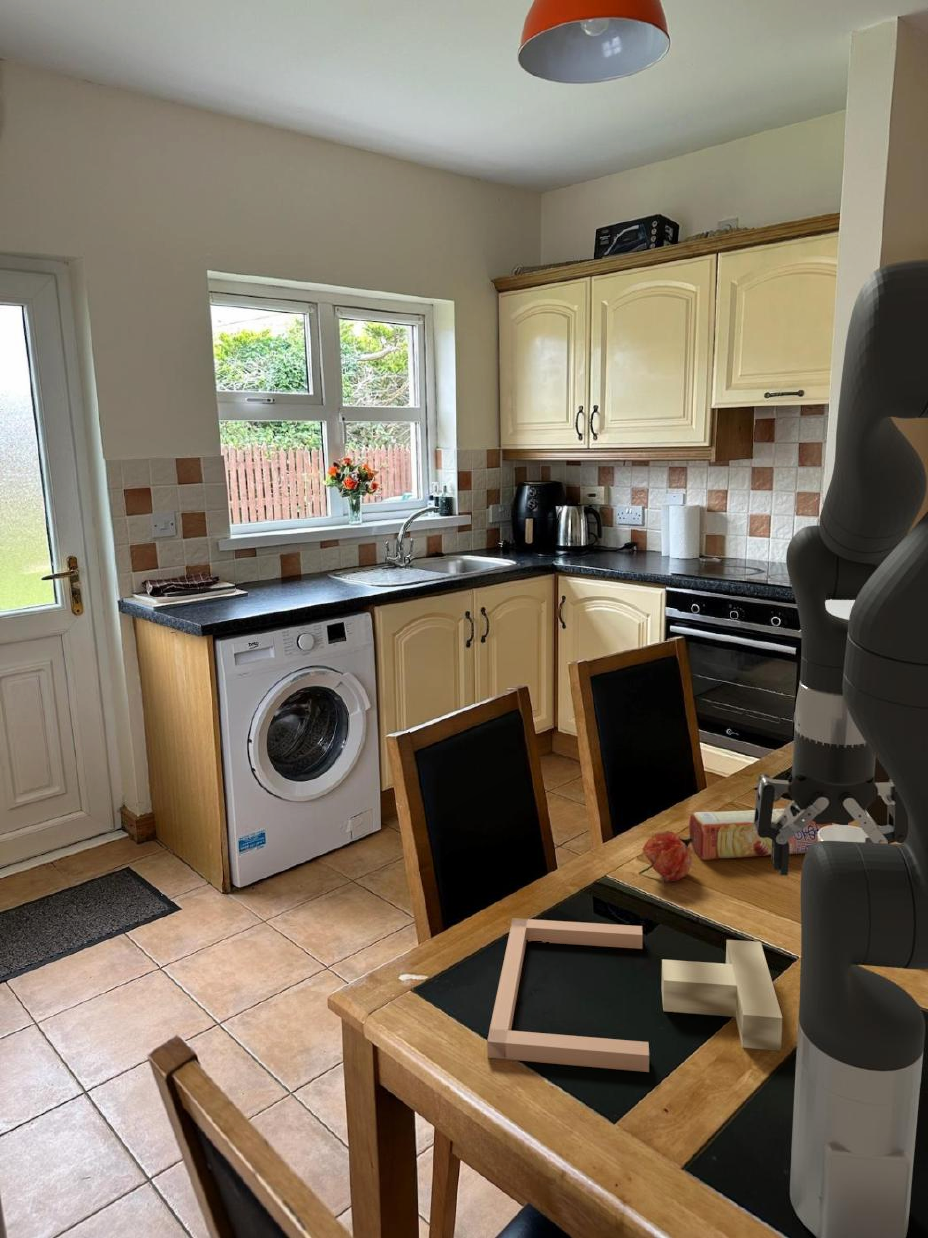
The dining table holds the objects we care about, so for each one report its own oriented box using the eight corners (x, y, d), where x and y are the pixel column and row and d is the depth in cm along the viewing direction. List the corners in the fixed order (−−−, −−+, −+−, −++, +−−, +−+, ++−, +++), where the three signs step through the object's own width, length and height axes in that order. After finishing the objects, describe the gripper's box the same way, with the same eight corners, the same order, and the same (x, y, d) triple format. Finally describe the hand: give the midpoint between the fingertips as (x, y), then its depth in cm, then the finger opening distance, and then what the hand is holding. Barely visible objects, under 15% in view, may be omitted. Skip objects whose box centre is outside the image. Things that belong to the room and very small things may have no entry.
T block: (759, 971, 105) (760, 942, 104) (780, 1050, 92) (782, 1018, 91) (659, 964, 107) (659, 935, 106) (665, 1041, 94) (666, 1009, 93)
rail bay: (649, 1072, 89) (649, 1055, 89) (487, 1057, 92) (487, 1041, 92) (641, 940, 112) (641, 926, 112) (513, 931, 115) (512, 918, 115)
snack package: (815, 837, 139) (817, 799, 137) (835, 857, 132) (838, 816, 131) (686, 845, 138) (687, 806, 136) (700, 866, 131) (701, 825, 130)
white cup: (882, 921, 115) (887, 853, 112) (820, 917, 116) (823, 849, 114) (867, 891, 122) (872, 826, 120) (809, 887, 124) (812, 823, 122)
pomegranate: (647, 903, 125) (705, 871, 122) (618, 860, 126) (674, 827, 123) (657, 883, 132) (711, 853, 128) (629, 842, 133) (682, 811, 129)
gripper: (766, 740, 82) (759, 890, 86) (926, 743, 80) (912, 898, 84) (753, 712, 89) (748, 852, 93) (900, 714, 87) (888, 858, 91)
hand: (825, 873), depth 88 cm, fingers open, 8 cm apart
